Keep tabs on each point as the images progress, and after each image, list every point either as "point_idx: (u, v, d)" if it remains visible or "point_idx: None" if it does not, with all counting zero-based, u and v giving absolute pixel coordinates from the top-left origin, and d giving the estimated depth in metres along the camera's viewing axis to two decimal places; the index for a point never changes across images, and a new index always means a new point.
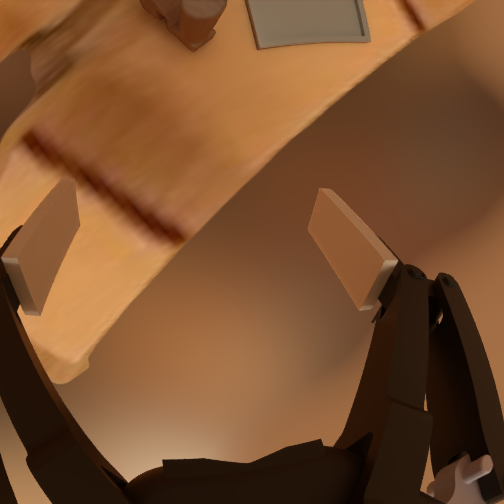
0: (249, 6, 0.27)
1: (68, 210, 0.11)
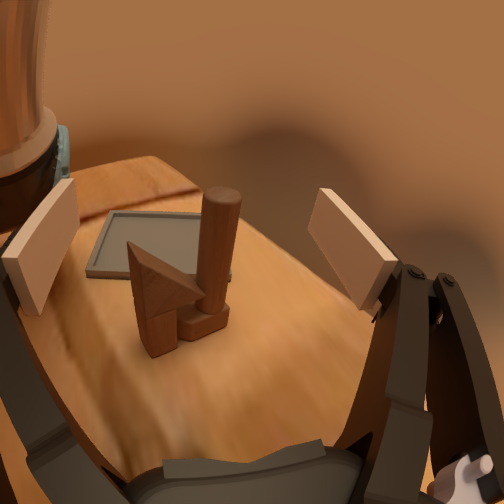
0: None
1: (68, 210, 0.11)
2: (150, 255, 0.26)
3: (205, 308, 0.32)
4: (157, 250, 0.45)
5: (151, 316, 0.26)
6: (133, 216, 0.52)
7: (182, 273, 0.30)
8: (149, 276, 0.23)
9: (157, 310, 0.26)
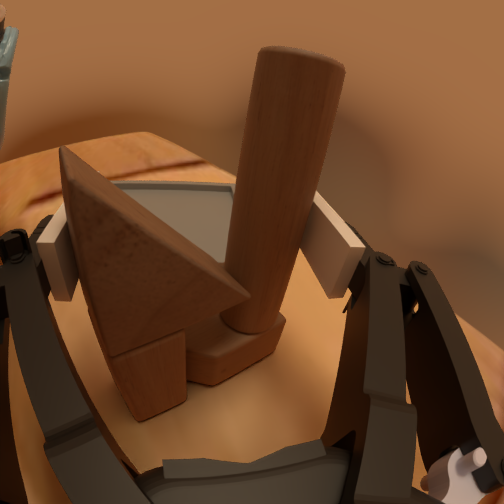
0: None
1: None
2: (119, 191, 0.09)
3: (244, 323, 0.15)
4: None
5: (123, 350, 0.09)
6: None
7: (197, 247, 0.13)
8: (103, 233, 0.07)
9: (137, 336, 0.10)
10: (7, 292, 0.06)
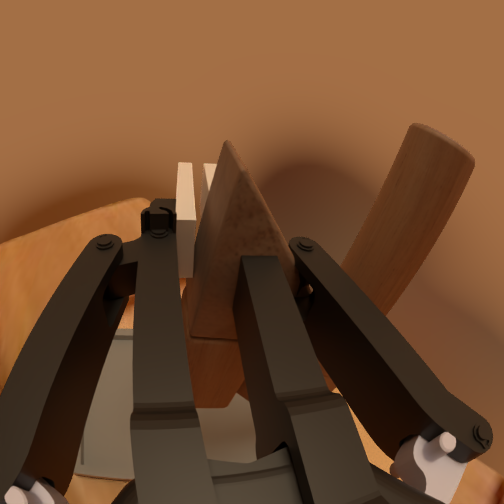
0: None
1: None
2: None
3: None
4: None
5: (205, 336, 0.11)
6: (123, 339, 0.30)
7: None
8: (248, 227, 0.09)
9: (225, 328, 0.11)
10: (140, 261, 0.08)
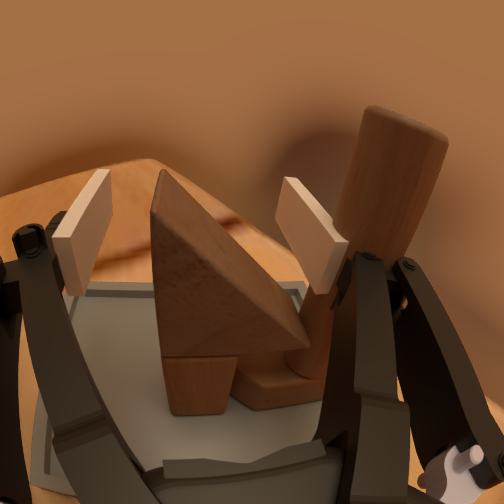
0: None
1: (105, 199, 0.13)
2: (211, 221, 0.11)
3: (300, 366, 0.15)
4: None
5: (175, 355, 0.11)
6: (119, 296, 0.23)
7: (277, 286, 0.14)
8: (176, 261, 0.09)
9: (190, 348, 0.11)
10: (21, 286, 0.06)
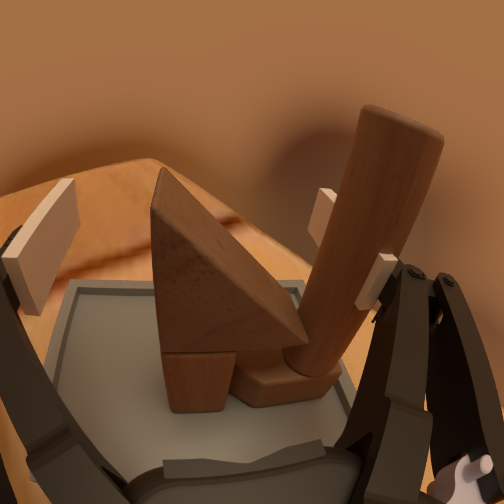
0: None
1: (68, 210, 0.11)
2: (210, 218, 0.12)
3: (299, 363, 0.15)
4: None
5: (174, 351, 0.12)
6: (120, 294, 0.23)
7: (275, 283, 0.14)
8: (176, 256, 0.09)
9: (189, 344, 0.11)
10: None
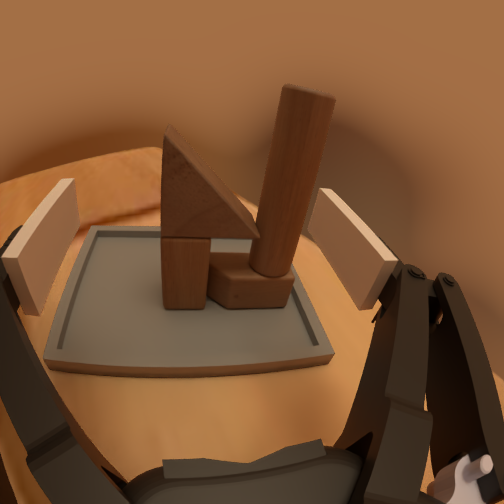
0: (250, 365, 0.19)
1: (68, 210, 0.11)
2: (196, 153, 0.19)
3: (258, 263, 0.22)
4: None
5: (169, 235, 0.19)
6: (130, 236, 0.30)
7: (239, 201, 0.22)
8: (175, 162, 0.16)
9: (179, 228, 0.19)
10: None
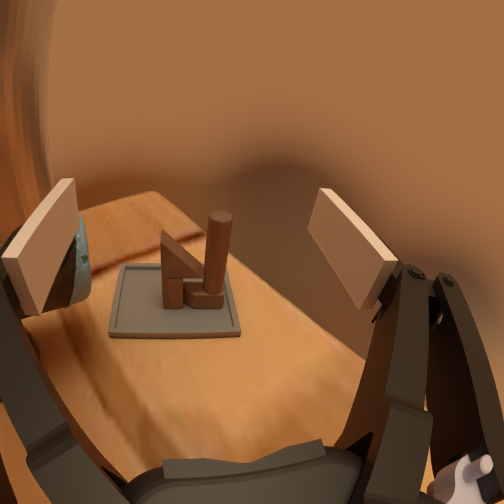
0: (200, 333, 0.45)
1: (68, 210, 0.11)
2: (174, 242, 0.44)
3: (205, 288, 0.48)
4: None
5: (165, 277, 0.44)
6: (144, 269, 0.56)
7: (196, 260, 0.47)
8: (165, 251, 0.42)
9: (169, 275, 0.44)
10: None
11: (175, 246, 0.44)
